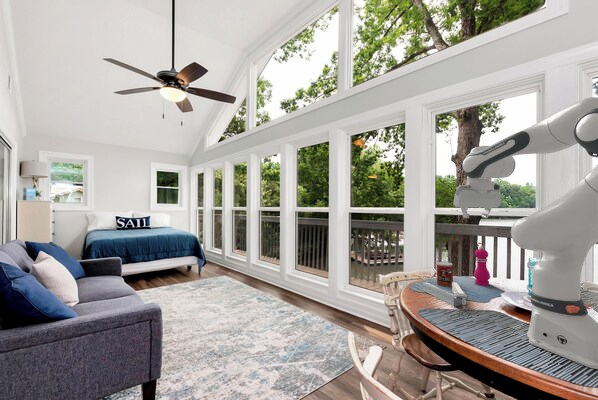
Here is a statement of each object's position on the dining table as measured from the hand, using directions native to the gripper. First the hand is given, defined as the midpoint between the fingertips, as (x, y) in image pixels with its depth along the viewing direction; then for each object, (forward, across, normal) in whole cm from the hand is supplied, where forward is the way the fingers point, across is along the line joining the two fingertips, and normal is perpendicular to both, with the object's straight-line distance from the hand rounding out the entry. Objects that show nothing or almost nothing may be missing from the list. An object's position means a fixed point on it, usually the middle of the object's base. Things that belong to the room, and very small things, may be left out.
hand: (475, 217), depth 121 cm
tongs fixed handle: (+38, -9, +5) cm, 39 cm away
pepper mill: (+39, +27, +20) cm, 52 cm away
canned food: (+40, +8, +25) cm, 48 cm away
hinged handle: (+37, -3, +3) cm, 37 cm away
